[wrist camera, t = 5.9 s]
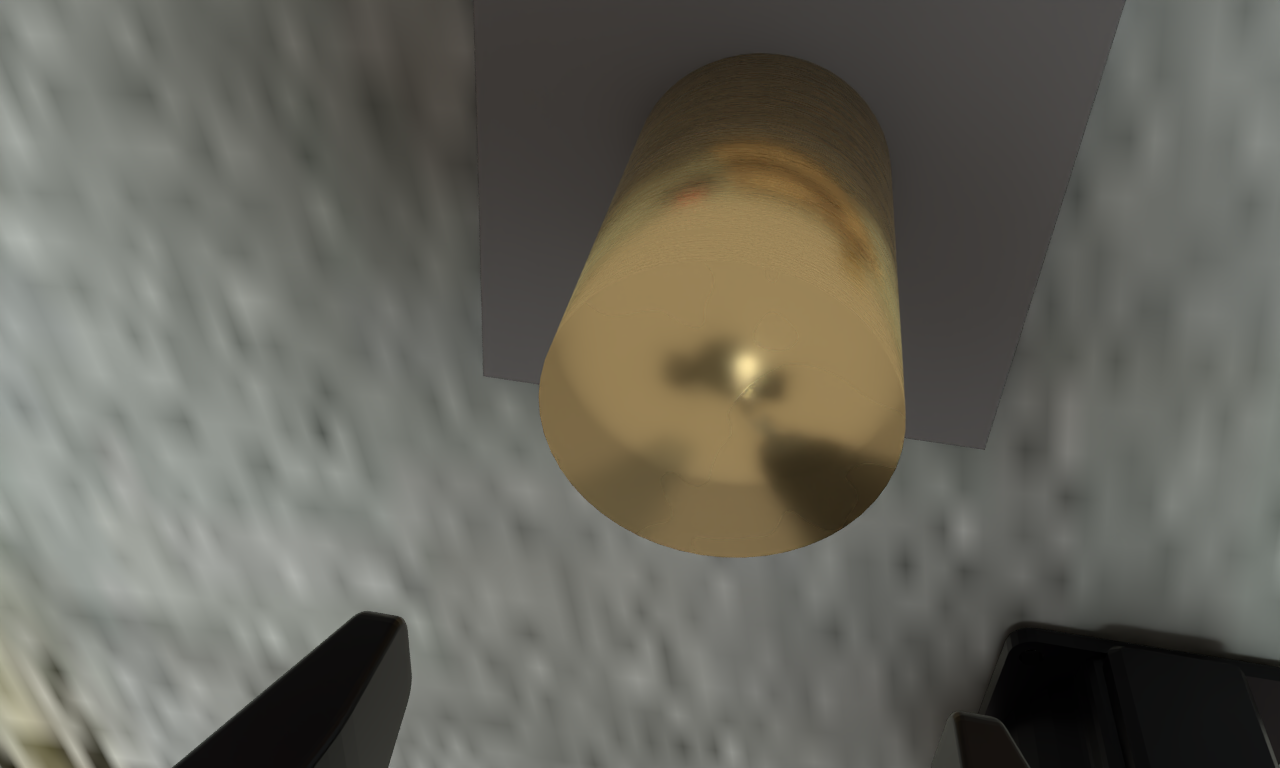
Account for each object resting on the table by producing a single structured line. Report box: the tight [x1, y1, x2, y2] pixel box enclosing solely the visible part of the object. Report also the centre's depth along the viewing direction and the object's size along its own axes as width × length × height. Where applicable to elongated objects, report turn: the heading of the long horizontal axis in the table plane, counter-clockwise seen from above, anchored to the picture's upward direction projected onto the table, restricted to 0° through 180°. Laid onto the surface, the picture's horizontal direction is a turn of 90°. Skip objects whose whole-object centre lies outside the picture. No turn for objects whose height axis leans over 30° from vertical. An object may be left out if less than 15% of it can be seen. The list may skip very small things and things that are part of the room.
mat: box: [473, 0, 1126, 450], centre depth 19 cm, size 10×10×1 cm
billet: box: [539, 53, 906, 557], centre depth 16 cm, size 4×4×7 cm
